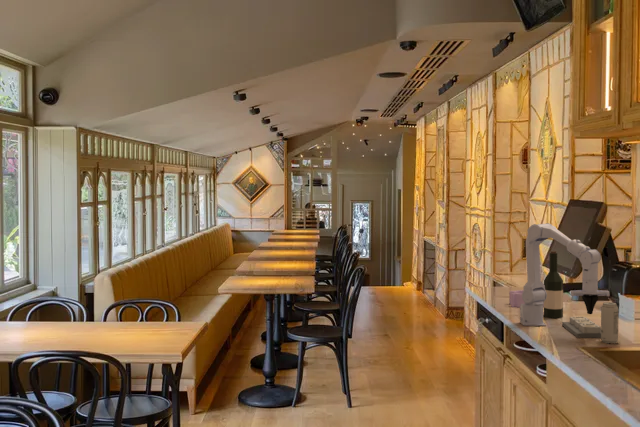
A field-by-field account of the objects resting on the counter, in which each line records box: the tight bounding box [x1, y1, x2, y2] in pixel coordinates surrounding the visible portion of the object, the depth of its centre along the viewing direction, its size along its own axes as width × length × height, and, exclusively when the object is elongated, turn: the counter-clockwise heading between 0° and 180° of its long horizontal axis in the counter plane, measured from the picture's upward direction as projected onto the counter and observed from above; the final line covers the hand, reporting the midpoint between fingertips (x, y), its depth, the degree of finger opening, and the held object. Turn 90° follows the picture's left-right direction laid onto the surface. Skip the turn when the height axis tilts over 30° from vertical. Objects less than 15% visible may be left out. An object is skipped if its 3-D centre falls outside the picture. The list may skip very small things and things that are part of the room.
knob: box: [574, 316, 585, 319], centre depth 282 cm, size 4×4×3 cm
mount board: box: [561, 316, 601, 339], centre depth 275 cm, size 12×22×4 cm, turn 175°
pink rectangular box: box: [508, 289, 544, 309], centre depth 332 cm, size 20×12×7 cm, turn 81°
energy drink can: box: [600, 301, 619, 344], centre depth 257 cm, size 6×6×15 cm
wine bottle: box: [543, 250, 564, 319], centre depth 305 cm, size 8×8×30 cm
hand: (589, 313), depth 268 cm, fingers closed
